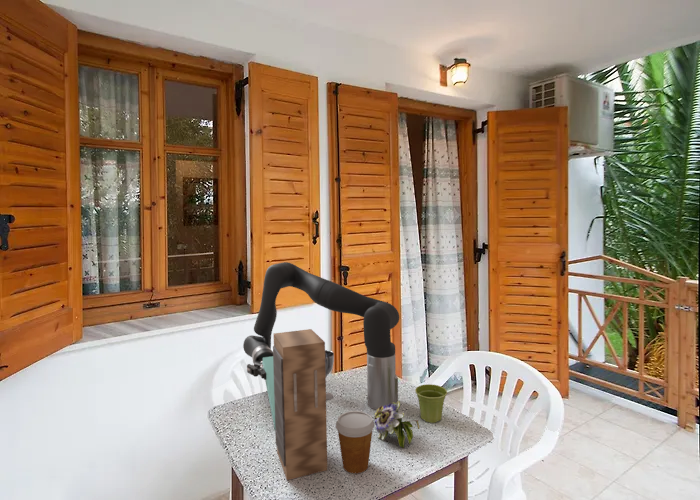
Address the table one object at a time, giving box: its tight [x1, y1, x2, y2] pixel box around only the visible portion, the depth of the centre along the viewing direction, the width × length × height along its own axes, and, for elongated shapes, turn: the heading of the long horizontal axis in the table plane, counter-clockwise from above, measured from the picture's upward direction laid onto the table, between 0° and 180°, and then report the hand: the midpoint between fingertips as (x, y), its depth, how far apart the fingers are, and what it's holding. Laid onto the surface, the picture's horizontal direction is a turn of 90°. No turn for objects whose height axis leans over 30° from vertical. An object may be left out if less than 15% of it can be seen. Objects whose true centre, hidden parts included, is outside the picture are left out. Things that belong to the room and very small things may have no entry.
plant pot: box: [414, 383, 448, 424], centre depth 122 cm, size 9×9×9 cm
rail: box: [262, 356, 275, 430], centre depth 124 cm, size 4×24×4 cm
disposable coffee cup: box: [335, 410, 375, 474], centre depth 99 cm, size 10×10×12 cm
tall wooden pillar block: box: [272, 328, 328, 481], centre depth 100 cm, size 10×12×32 cm
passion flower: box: [373, 400, 421, 449], centre depth 112 cm, size 11×11×12 cm
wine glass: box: [325, 349, 335, 402], centre depth 138 cm, size 8×8×15 cm
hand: (272, 375), depth 126 cm, fingers closed on rail, 3 cm apart
